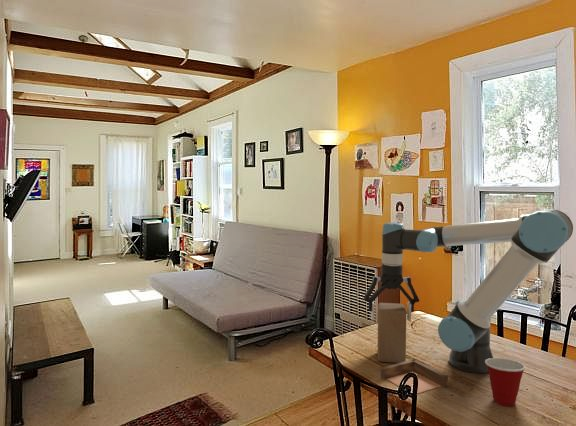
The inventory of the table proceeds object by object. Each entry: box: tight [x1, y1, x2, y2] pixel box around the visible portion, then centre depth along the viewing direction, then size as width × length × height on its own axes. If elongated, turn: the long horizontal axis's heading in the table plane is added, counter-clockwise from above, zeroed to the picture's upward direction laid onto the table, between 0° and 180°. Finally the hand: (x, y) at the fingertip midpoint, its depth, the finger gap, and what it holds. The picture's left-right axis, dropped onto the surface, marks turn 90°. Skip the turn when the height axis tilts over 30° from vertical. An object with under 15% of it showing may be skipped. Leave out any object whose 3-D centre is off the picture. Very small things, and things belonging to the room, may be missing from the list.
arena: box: [380, 359, 449, 388], centre depth 136 cm, size 15×15×4 cm
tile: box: [386, 371, 442, 395], centre depth 136 cm, size 12×12×1 cm
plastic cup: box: [485, 357, 526, 407], centre depth 123 cm, size 11×11×12 cm
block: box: [377, 302, 407, 364], centre depth 155 cm, size 10×10×20 cm
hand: (390, 319), depth 155 cm, fingers open, 13 cm apart
